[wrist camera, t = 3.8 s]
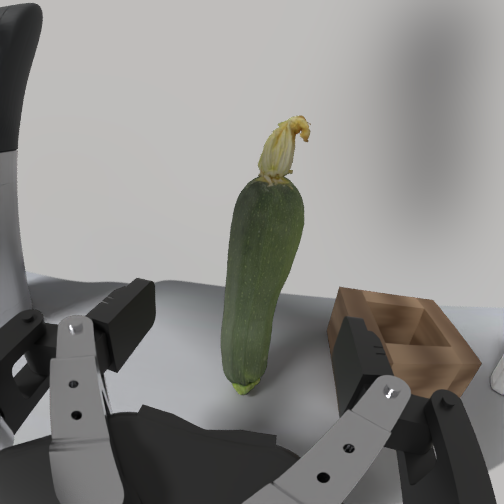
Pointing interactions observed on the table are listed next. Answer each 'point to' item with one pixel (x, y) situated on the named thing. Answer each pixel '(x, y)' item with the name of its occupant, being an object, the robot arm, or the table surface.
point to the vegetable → (261, 257)
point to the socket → (410, 339)
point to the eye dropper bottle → (498, 377)
